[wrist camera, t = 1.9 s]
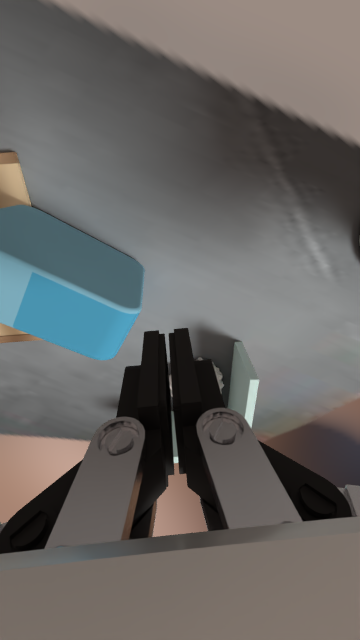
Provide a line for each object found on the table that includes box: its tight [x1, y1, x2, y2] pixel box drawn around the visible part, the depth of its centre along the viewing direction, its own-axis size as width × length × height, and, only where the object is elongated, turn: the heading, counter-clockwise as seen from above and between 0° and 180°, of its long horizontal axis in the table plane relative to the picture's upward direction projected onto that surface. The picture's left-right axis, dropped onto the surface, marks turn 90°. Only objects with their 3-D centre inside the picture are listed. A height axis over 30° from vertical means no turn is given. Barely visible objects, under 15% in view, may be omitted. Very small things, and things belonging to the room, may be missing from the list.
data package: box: [0, 205, 145, 360], centre depth 22 cm, size 12×4×12 cm, turn 60°
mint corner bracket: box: [169, 342, 259, 463], centre depth 33 cm, size 12×12×8 cm
